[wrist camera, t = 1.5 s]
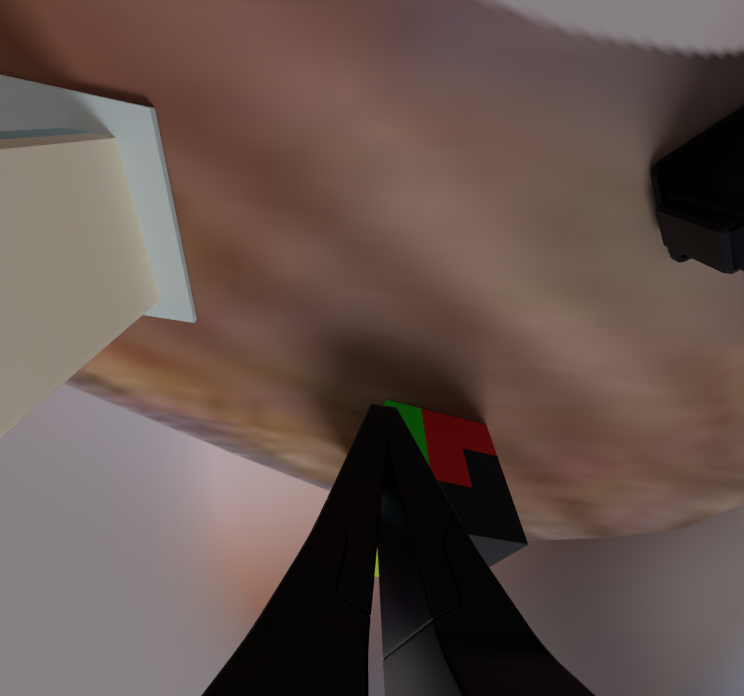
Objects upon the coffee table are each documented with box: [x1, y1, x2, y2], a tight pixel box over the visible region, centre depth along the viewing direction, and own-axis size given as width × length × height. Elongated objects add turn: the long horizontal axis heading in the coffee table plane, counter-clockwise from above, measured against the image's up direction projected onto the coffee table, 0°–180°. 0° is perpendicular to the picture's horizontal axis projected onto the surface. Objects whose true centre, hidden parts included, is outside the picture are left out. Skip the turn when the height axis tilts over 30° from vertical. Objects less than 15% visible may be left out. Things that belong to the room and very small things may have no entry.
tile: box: [0, 128, 160, 438], centre depth 13 cm, size 2×9×12 cm, turn 169°
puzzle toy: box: [375, 400, 528, 577], centre depth 26 cm, size 10×10×10 cm
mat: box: [0, 74, 197, 323], centre depth 17 cm, size 17×12×1 cm
